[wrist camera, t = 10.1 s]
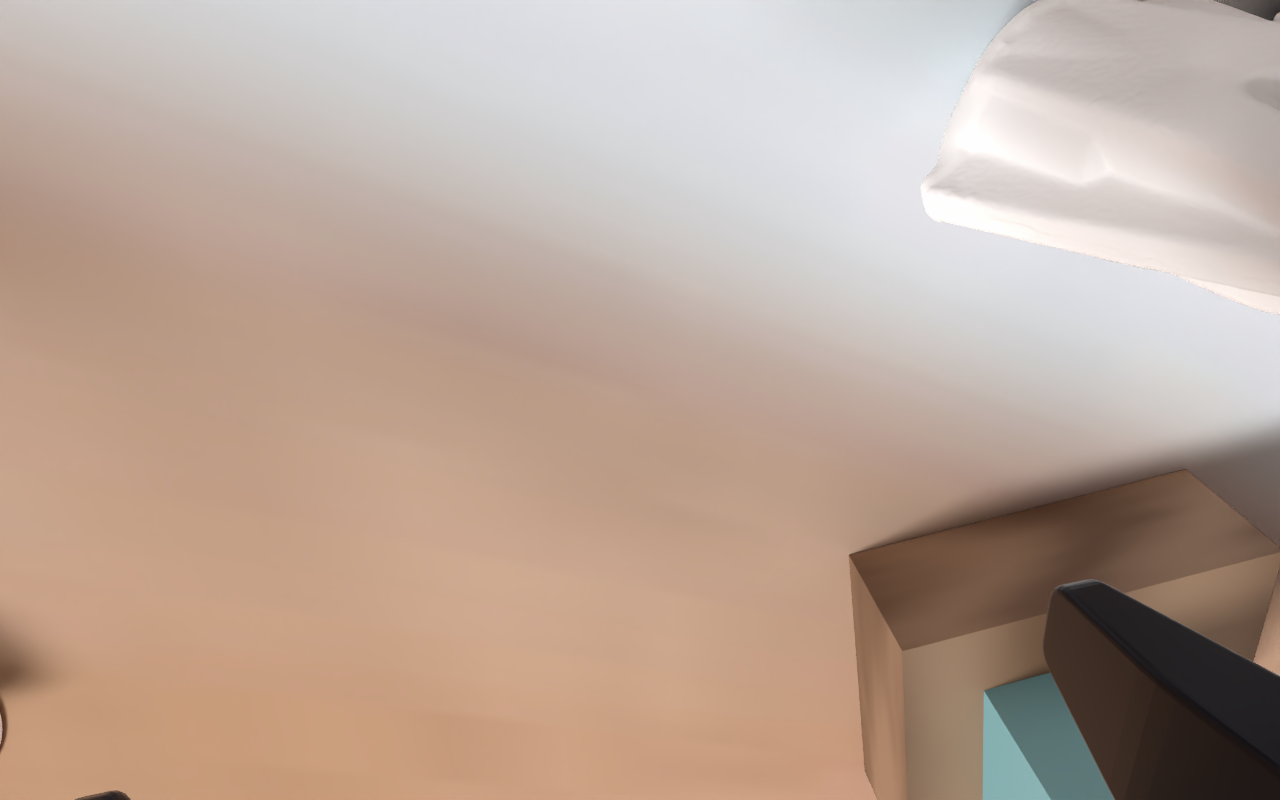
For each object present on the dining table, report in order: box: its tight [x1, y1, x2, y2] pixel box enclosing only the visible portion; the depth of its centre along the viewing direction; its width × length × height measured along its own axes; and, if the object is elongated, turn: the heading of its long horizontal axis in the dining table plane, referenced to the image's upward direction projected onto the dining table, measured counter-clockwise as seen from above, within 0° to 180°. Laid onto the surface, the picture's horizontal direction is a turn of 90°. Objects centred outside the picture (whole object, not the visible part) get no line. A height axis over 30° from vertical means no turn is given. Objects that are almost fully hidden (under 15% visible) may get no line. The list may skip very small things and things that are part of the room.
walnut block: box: [849, 469, 1280, 800], centre depth 26 cm, size 10×10×4 cm
